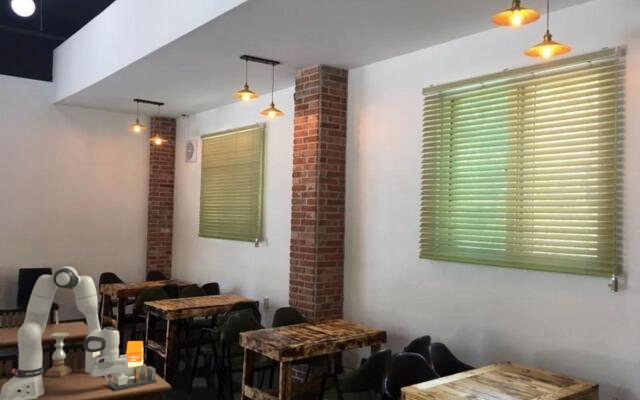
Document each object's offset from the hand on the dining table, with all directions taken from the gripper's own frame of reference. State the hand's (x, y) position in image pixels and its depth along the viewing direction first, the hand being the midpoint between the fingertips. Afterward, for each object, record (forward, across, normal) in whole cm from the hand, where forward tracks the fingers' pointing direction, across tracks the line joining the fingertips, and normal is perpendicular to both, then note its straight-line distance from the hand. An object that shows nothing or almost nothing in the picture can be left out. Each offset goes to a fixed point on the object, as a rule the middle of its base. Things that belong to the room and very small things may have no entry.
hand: (109, 382), depth 297 cm
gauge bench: (+4, -13, 0) cm, 14 cm away
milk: (+4, -4, -38) cm, 38 cm away
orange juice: (+4, -22, -17) cm, 27 cm away
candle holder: (+4, +13, -45) cm, 47 cm away
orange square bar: (+2, -17, -3) cm, 17 cm away
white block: (+2, -9, 0) cm, 9 cm away
